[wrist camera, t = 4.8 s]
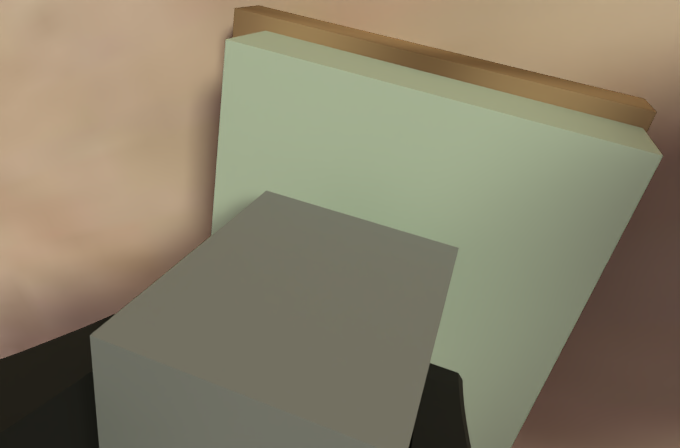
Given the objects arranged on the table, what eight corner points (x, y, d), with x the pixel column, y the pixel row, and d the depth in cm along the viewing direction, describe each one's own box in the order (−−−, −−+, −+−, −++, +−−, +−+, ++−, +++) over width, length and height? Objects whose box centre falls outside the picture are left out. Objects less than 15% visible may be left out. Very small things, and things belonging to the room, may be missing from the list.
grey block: (458, 248, 10) (405, 459, 6) (411, 398, 12) (343, 643, 7) (266, 190, 11) (89, 334, 6) (250, 339, 13) (105, 529, 8)
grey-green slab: (642, 128, 11) (663, 155, 10) (503, 412, 16) (500, 467, 14) (266, 30, 13) (225, 39, 11) (235, 310, 17) (202, 348, 16)
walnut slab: (639, 93, 13) (656, 112, 11) (505, 384, 18) (502, 429, 16) (269, 3, 15) (235, 8, 13) (239, 287, 19) (211, 317, 18)
